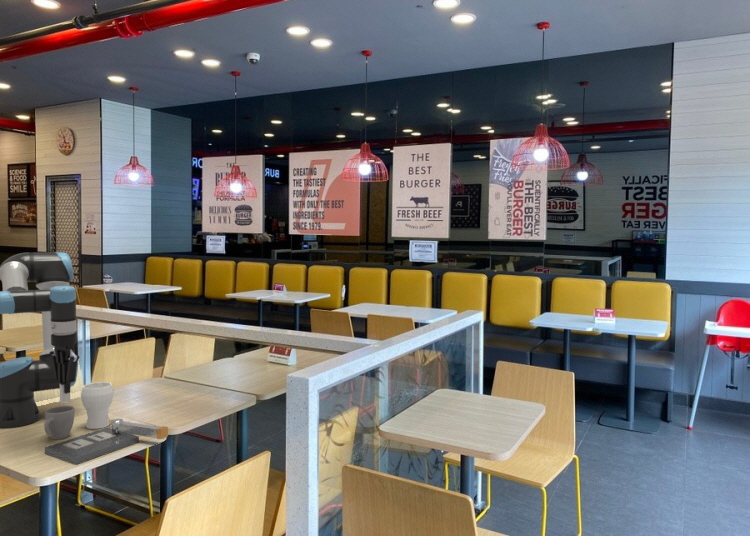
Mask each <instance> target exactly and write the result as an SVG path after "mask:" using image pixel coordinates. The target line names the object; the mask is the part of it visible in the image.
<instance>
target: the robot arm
mask: <svg viewBox="0 0 750 536" xmlns="http://www.w3.org/2000/svg"><path fill="white" fill-rule="evenodd" d="M0 281H1V283H2V290H1V291H0V315H7V314H8V315H15V314H24V313H25V314H28V313H41V320H42V321H41V322H42V323H41V325H42V345H43V348H42V349H43V351H42V352H41V353H40V354H39V355H38V356H39V357H38V358H39V359H38V360H37V359H36V360H34V358H33V357H32V356H22V357H21V356H19V357H17V358H12V359H8V360H4V361H2V362H1V363H0V428H1V429H8V428H9V429H10V428H19V427H23V426H27V425H31V424H33V423H35V422H38V421H40V419H41V415H40V414H41V413H40V410H39V407H38V405H37V403H36V400H35V393H34V392H42V391H43V392H44V391H50V390H59V403H60V404H65V403H70V402H71V392H72V391H71V387H74V385H75V384H76V383H77V378H78V372H79V371H78V370H79V359H80V355H79V354H78V355H76V354H75V349H74V346H75V345H76V344H77V343H78V339H77V337H78V335H77V331H78V329H77V326H78V325H77V294H76V293H77V292H76V291H77V290H76V288H75V287H74V286H72V285H71V286H70V282H71V281H74V268H73V264H72V260H71V257H70V255H69V254H68V253H67V252H59V251H58V252H57V251H52V252H50V251H48V252H45V251H44V252H41V251H40V252H20V253H17V254H14V255H12V256H9V257H8V258H7V259H4V261H3V262H2V263H1V264H0ZM28 283H35V287H36V288H37V289H29V286H28Z"/></svg>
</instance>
